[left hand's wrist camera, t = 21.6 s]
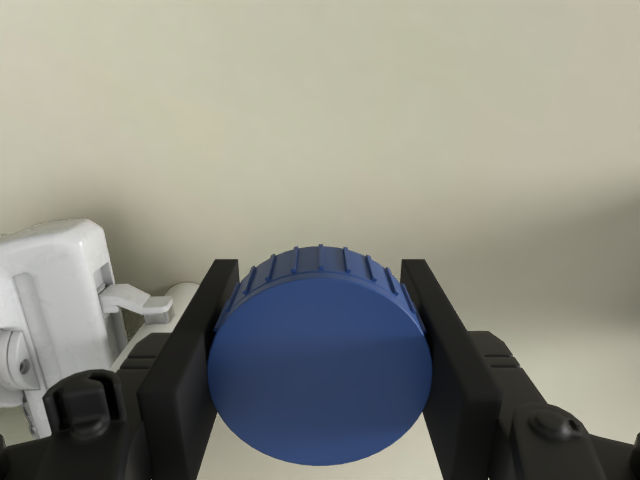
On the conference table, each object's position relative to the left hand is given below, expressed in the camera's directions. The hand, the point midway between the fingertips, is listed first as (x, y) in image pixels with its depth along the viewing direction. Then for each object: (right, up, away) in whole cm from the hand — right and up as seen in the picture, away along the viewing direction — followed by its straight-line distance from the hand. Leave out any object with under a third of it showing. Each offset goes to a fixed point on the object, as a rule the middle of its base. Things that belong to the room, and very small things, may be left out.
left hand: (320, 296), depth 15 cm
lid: (0, -1, -4) cm, 4 cm away
